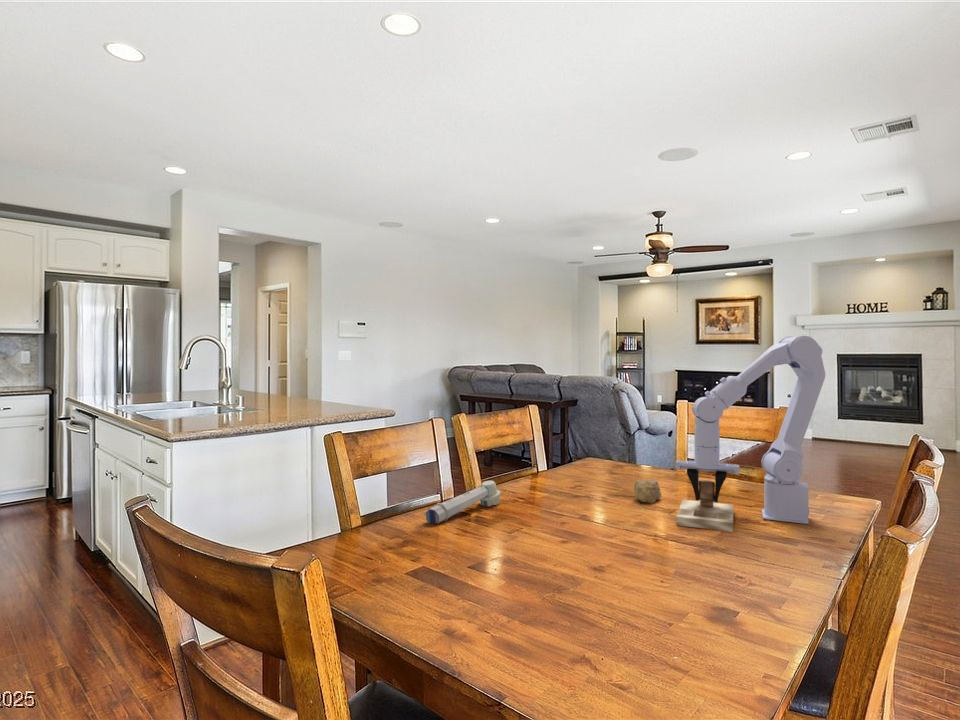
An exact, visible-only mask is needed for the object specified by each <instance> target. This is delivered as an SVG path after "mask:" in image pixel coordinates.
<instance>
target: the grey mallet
mask: <svg viewBox="0 0 960 720" xmlns="http://www.w3.org/2000/svg"><path fill="white" fill-rule="evenodd" d="M500 496H501V491H500V490H499V489H497V484H496V482H495V481H494V480H485V481H483V482H482V483H481V485H480V486H478V487H476V488H474V489H471V490H470V491H467V492H465V493H462V494H460V495H457V496H455V497H453V498H450V499H448V500H446V501H445V500H444V501H443V502H437V503H436V504H435V506H432V507H431V508H429V509H427V510H426V512H425V520H426V522H427V523H428V524H430V523H431V525H434V526H436V525H438V524H440V523H442V522H446V521H448V519H449V518H451V517H454V516H455V515H457V514H458V513H460V512H462V511H463V510H465V509H467V508H469V507H471V506H472V505H474V504H477V503H478V502H480V506H482V505H483V507H491V506H494V505H496V506H497V505H499V504H500V503H499V502H500Z"/></svg>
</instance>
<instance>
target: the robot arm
mask: <svg viewBox="0 0 960 720" xmlns="http://www.w3.org/2000/svg"><path fill="white" fill-rule="evenodd" d="M823 351H824V350H823V348H822V347H821V345H819V343H818V342H817V341H816V340H815V338H812V336H809V335H808V336H807V335H799V336H785V337H783V338H781V339H780V340H779V341H778V342H777V343H774V344H773V345H771V346H769V348H767V350H765V351H764V352H763V353H762V354H760V356H758V357H757V358H756V359H755V360H754V361H753V362H752V363H750V364H749V365H748V366H747V367H746V368H745V369H744V370H742V372H740V373H739V374H738V375H737V376H735V375H728V376H727V377H721V379H719V383H718V384H717V385H716V386H714V387H713V388H712V389H710V391H709V390H707V391H705V392H704V395H705V396H701V397H699V398H697V399H696V400H695V401H694V402H693V403H694V404H693V406H692V407H691V410H692V413H693V415H694V419H695V420H694V460H676V461H675V470H679V471H680V470H685V471H686V474H687V477H688V479H689V481H690V483H691V486H692V489H693V492H694V495H695V496H694V497H695V501H700V500H699V481H700V480H699V479H700V477H699V476H700V475H699V474H700V473H699V472H711V473H715V475H714V478H715V481H714V482H715V501H714V503H719V495H720V492H721V489H722V487H723V485H724V483H725V481H726V478H727V474H734V475H740V465H739V464H730V463H722V462H720V419H721V418H722V417H723V414H724V411H725V410H727V409H730V407H731V406H733V404H735V403H736V402H738V401H739V400H740V399H742V397H744V396H745V395H746V394H747V389H748V386H749V385H750V384H753V382H754V381H756V380H757V379H759V378H760V377H761V376H763V375H764V374H766V373H767V372H768V371H769V370H771V369H772V368H774V367H775V366H782V365H788V366H790V368H791V370H793V372H794V374H795V375H796V377H797V381H796V383H795V385H794V386H795V387H794V389H793V392H792V395H791V398H790V400H789V404H788V407H787V410H786V412H785V415H784V418H783V421H782V424H781V427H780V430H779V432H778V436H777V437H776V439H775V440H774V441H773V442H772V443H771V444H770V448H769V449H768V450H767V452H765V453H764V454H763V455H762V458H761V467H762V469H763V470H764V472H765V475H764V477H763V478H764V481H763V483H764V486H763V487H764V489H763V490H764V494H763V495H764V496H763V499H764V501H763V504H764V508H762V509H761V515H762V519H763V520H769V521H777V522H788V523H796V524H807V525H808V524H809V515H810V507H809V502H810V501H809V499H810V498H809V497H810V495H809V485H808V483H806V482H800V481H799V480H800V478H801V477H802V474H803V466H802V463H803V462H802V461H803V459H804V454H803V448H802V445H803V442H804V438H805V436H806V433H807V430H808V427H809V425H810V421H811V418H812V416H813V413H814V410H815V407H816V405H817V402H818V399H819V397H820V394H821V390H822V387H823V385H824V382H825V378H826V370H825V366H824V361H823V358H822V355H823Z"/></svg>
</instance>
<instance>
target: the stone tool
mask: <svg viewBox="0 0 960 720" xmlns="http://www.w3.org/2000/svg"><path fill="white" fill-rule="evenodd" d="M633 490H634V495H635V497H636V498H637V499H638V500H639V501H640V502H642V503H650V504H654V503H656V501H659V500H660V498H661V496H662V492H661V489H660V486H659V483H658V480H656V479H653V478H650V479H648V478H647V479H638V480H635V482H634V484H633Z"/></svg>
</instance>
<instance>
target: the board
mask: <svg viewBox="0 0 960 720" xmlns="http://www.w3.org/2000/svg"><path fill="white" fill-rule="evenodd" d="M675 517H676V519H675V522H676V523H675V525H676V526H682V527H689V528H690V527H691V528H698V529H705V530H716V531H722V532H731V533H733V532H734V504H731V503H730V504H728V503H720V502H713V507H712V508H705V507H701V506H700V500H699V501H698V500H692V499H691V500H690V499H682V500H681V503H680V506H679V509H678V511H677V514H676V516H675Z"/></svg>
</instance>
